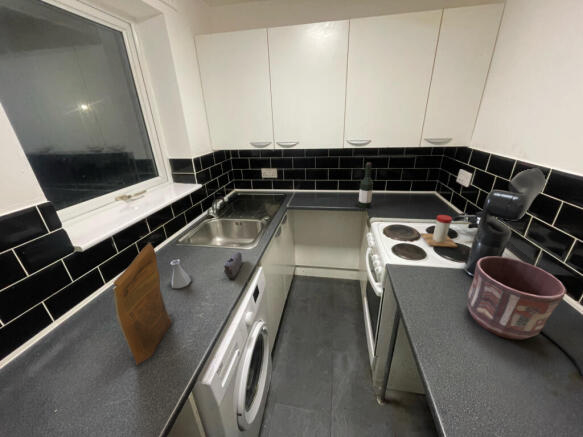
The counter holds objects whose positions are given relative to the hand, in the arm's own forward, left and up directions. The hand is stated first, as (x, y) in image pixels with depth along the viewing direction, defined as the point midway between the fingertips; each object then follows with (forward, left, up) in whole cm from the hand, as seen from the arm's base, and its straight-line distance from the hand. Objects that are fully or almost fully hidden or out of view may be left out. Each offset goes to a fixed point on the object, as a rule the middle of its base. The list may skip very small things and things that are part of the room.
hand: (461, 222), depth 112 cm
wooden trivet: (-4, +10, -8) cm, 14 cm away
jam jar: (-4, +10, -7) cm, 13 cm away
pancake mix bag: (-73, +113, -8) cm, 135 cm away
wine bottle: (+41, +40, -8) cm, 58 cm away
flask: (-49, +121, -8) cm, 131 cm away
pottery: (-54, +13, -8) cm, 57 cm away
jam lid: (-4, +10, +4) cm, 12 cm away
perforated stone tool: (-39, +103, -8) cm, 110 cm away
